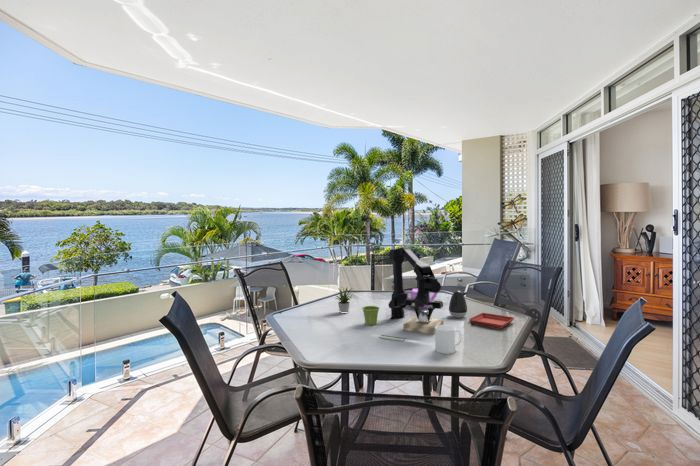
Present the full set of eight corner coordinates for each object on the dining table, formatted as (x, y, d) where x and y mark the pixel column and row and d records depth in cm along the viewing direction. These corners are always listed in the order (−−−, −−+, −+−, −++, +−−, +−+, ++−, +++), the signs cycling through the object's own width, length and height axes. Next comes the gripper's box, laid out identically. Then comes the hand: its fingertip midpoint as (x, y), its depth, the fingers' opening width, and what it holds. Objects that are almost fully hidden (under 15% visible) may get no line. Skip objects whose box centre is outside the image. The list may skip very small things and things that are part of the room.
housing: (403, 331, 189) (403, 323, 189) (414, 323, 203) (414, 316, 203) (434, 336, 181) (434, 328, 181) (443, 327, 195) (443, 319, 195)
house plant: (362, 311, 231) (361, 285, 230) (350, 316, 219) (349, 288, 219) (342, 308, 239) (342, 283, 238) (330, 313, 227) (329, 286, 226)
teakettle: (419, 301, 254) (419, 283, 254) (439, 306, 241) (439, 287, 241) (401, 306, 244) (401, 287, 243) (422, 310, 231) (421, 290, 230)
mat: (379, 337, 180) (379, 336, 180) (389, 331, 190) (388, 329, 190) (402, 341, 174) (402, 340, 174) (411, 334, 185) (411, 333, 185)
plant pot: (383, 323, 204) (382, 307, 204) (372, 327, 198) (371, 311, 197) (369, 320, 211) (369, 305, 211) (358, 324, 204) (358, 308, 204)
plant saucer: (468, 325, 200) (468, 318, 200) (482, 317, 213) (482, 312, 213) (502, 331, 188) (502, 325, 188) (515, 323, 201) (515, 317, 201)
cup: (431, 348, 164) (431, 325, 164) (456, 345, 167) (456, 323, 167) (441, 355, 156) (441, 331, 156) (466, 352, 159) (466, 328, 159)
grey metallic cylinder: (417, 328, 191) (417, 311, 191) (420, 325, 195) (420, 309, 195) (427, 329, 188) (426, 312, 188) (430, 326, 193) (429, 310, 192)
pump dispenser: (468, 319, 209) (468, 292, 208) (449, 318, 211) (449, 292, 210) (466, 314, 219) (466, 289, 218) (448, 314, 221) (448, 288, 220)
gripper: (400, 290, 188) (400, 321, 189) (437, 294, 180) (437, 326, 180) (408, 287, 198) (408, 316, 199) (443, 289, 189) (443, 320, 190)
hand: (423, 319), depth 192 cm, fingers closed on grey metallic cylinder, 5 cm apart
